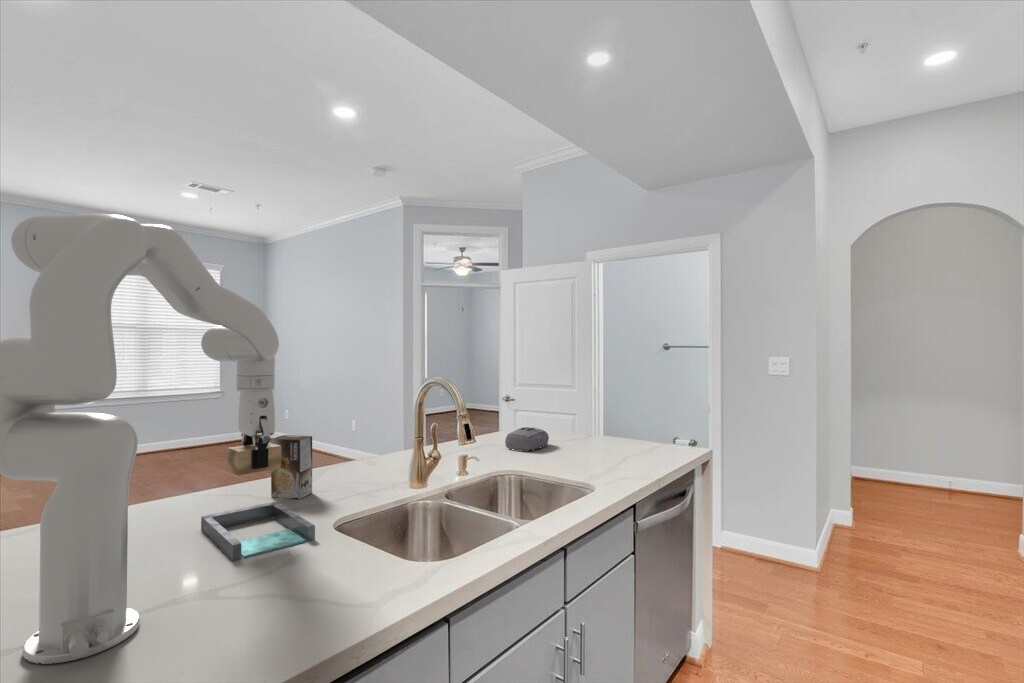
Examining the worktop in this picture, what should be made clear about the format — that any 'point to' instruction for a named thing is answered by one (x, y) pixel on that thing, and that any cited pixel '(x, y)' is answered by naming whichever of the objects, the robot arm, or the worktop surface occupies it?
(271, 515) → the bay
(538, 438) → the grey rounded bag
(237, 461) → the tan cardboard box
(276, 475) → the coffee box
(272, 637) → the worktop surface
